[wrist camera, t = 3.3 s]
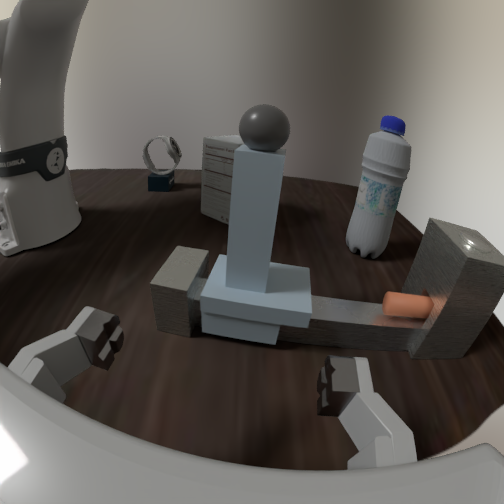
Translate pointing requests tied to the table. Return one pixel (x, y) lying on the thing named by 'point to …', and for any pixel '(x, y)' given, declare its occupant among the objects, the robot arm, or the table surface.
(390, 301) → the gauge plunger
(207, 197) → the supplement box
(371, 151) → the bottle
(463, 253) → the grey slide rail
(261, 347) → the table surface
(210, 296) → the ball-topped pillar
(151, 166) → the watch
